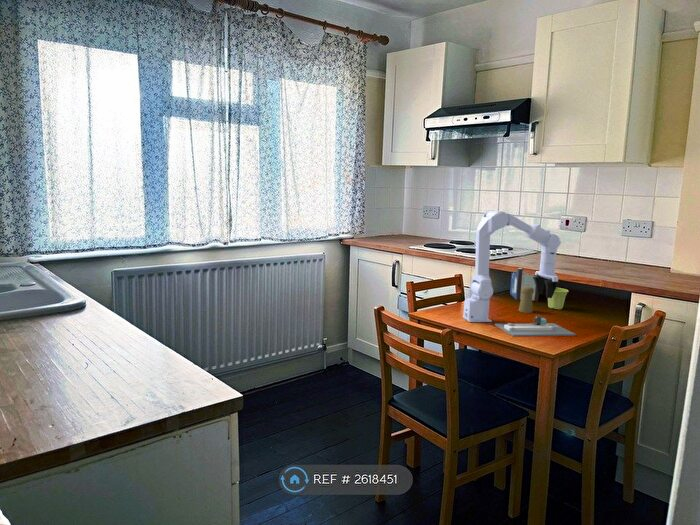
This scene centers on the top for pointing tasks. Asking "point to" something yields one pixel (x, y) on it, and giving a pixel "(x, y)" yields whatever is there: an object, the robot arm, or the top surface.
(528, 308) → the olive tapered shaker
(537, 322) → the black knobbed slide plate
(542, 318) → the teal block
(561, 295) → the plant pot
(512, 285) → the protein box
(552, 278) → the robot arm
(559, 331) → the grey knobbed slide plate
